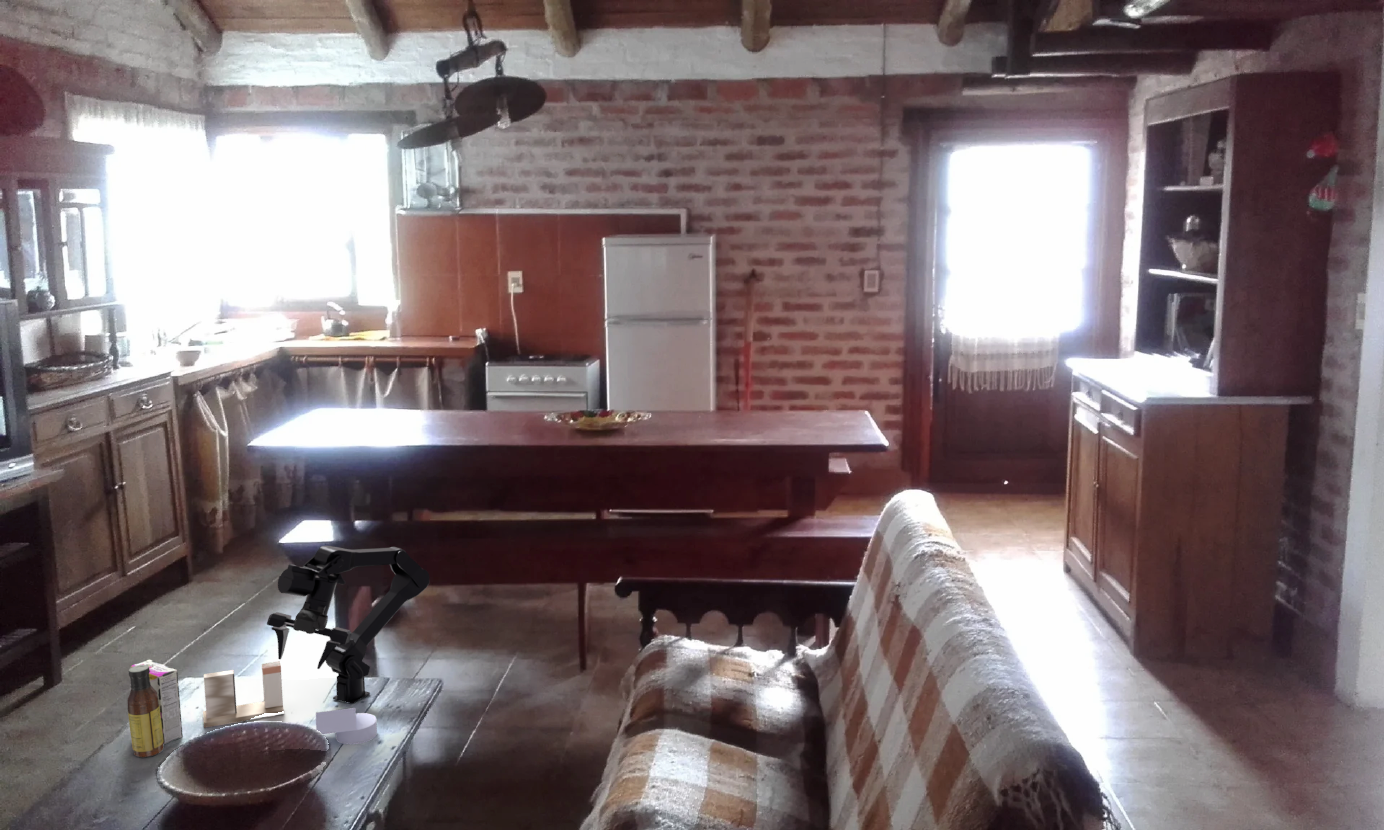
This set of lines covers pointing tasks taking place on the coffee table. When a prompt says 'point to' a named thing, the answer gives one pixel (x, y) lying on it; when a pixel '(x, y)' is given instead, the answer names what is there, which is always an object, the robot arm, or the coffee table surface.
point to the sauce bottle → (144, 714)
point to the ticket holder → (228, 701)
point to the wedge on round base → (347, 725)
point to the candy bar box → (166, 698)
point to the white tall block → (272, 684)
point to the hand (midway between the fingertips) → (299, 663)
